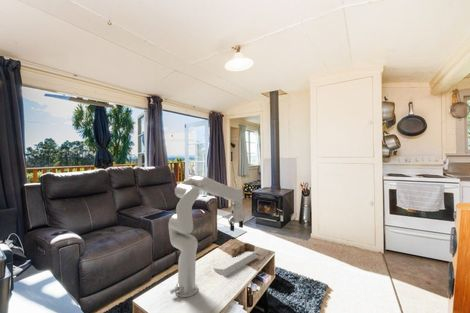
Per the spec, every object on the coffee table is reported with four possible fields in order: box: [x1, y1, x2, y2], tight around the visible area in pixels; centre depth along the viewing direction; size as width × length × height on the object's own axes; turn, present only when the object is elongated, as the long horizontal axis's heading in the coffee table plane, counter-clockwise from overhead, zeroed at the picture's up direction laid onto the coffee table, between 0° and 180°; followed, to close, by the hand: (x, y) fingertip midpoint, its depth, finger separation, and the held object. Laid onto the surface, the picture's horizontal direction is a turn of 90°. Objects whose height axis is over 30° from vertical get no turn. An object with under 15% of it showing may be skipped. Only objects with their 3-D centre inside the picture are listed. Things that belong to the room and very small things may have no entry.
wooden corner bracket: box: [231, 242, 255, 258], centre depth 165 cm, size 17×9×6 cm, turn 139°
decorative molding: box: [213, 251, 257, 278], centre depth 151 cm, size 34×5×10 cm
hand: (236, 228), depth 153 cm, fingers open, 9 cm apart
